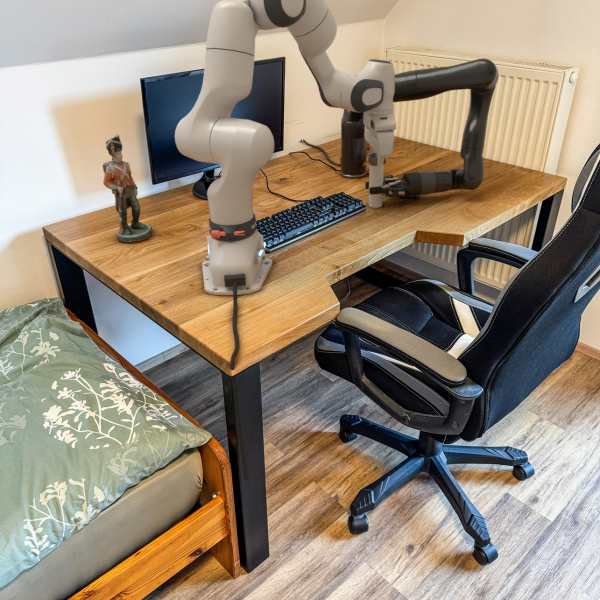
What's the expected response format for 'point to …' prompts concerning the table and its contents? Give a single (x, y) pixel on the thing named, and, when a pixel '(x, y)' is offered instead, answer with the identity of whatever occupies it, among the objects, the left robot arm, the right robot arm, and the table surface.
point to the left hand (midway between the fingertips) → (376, 162)
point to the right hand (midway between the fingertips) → (367, 188)
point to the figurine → (124, 194)
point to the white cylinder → (376, 185)
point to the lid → (374, 159)
